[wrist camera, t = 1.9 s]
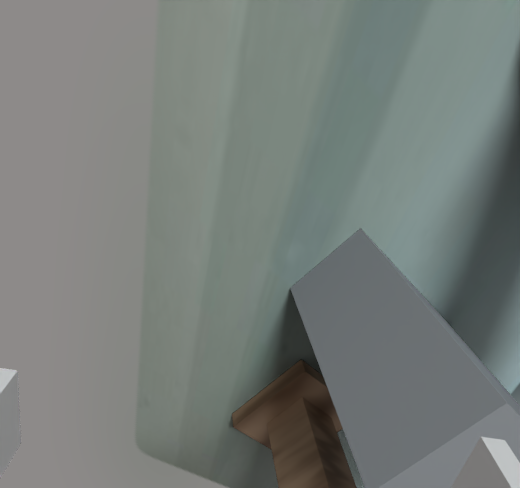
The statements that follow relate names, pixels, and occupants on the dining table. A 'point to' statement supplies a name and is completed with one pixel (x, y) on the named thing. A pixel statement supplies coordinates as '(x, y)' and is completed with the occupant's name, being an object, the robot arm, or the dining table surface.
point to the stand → (298, 430)
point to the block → (398, 372)
